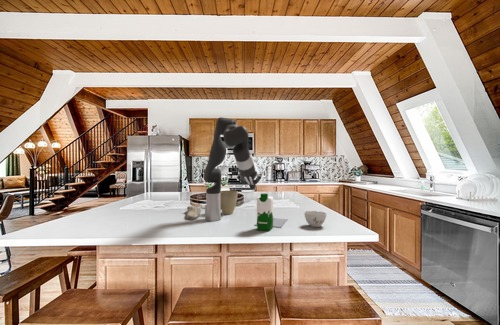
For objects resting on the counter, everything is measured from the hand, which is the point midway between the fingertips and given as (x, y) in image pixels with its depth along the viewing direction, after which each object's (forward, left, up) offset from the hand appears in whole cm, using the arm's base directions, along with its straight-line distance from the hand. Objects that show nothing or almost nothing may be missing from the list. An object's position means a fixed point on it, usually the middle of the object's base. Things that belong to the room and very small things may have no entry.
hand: (253, 188), depth 134 cm
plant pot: (-34, +50, -25) cm, 65 cm away
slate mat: (+3, +31, -24) cm, 40 cm away
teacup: (+29, +32, -25) cm, 49 cm away
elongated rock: (-56, +38, -25) cm, 72 cm away
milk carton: (+3, +15, -25) cm, 29 cm away
